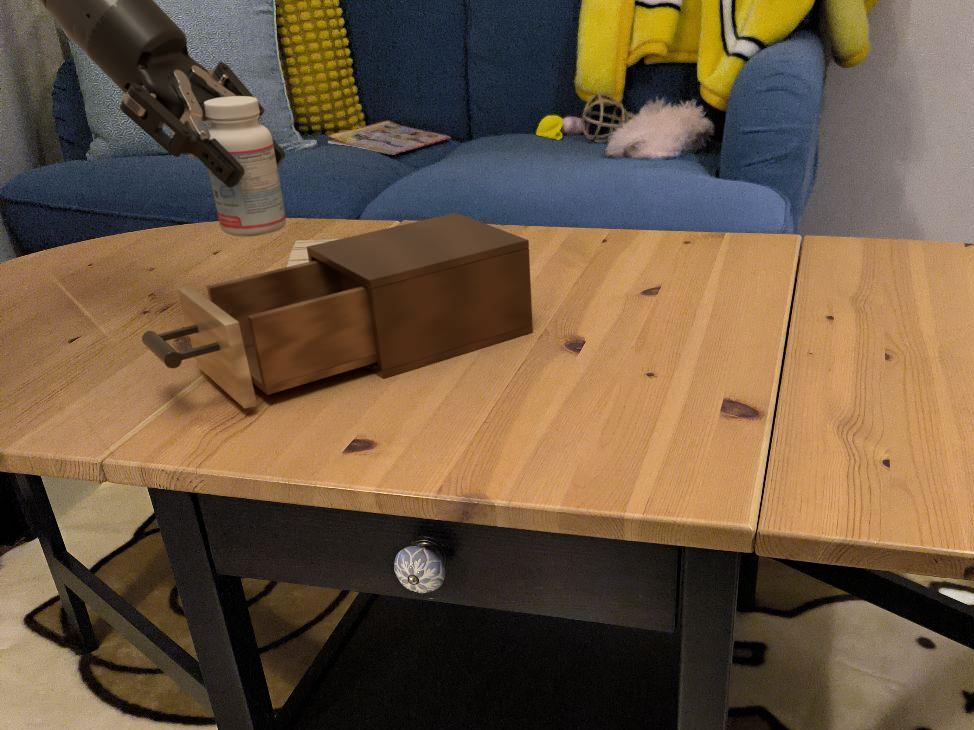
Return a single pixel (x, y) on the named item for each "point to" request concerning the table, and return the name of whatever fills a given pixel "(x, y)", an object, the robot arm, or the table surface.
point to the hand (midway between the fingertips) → (259, 171)
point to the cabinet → (436, 288)
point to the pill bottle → (246, 169)
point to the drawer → (273, 330)
